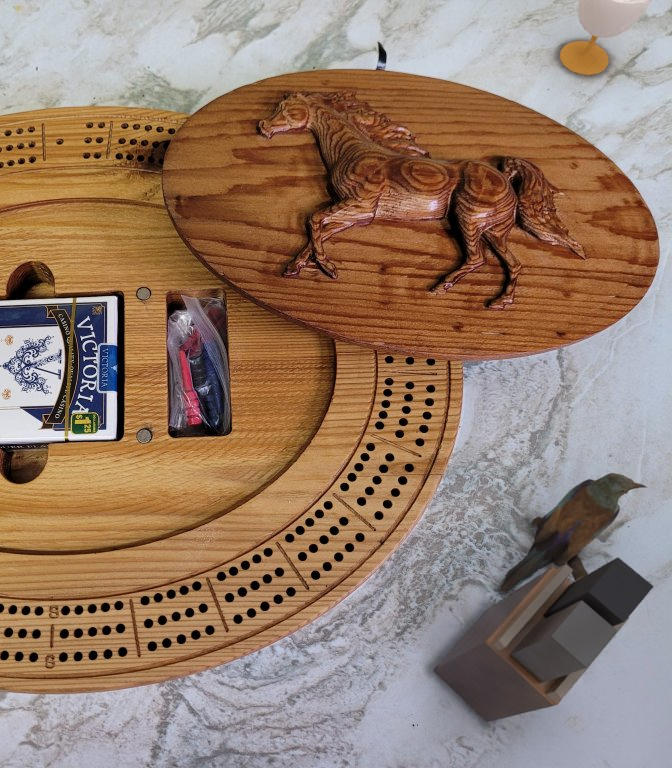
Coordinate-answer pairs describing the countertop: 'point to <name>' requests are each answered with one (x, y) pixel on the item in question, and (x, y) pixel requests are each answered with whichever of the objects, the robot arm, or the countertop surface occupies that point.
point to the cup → (600, 32)
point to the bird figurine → (571, 527)
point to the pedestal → (490, 667)
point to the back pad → (606, 592)
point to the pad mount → (551, 637)
